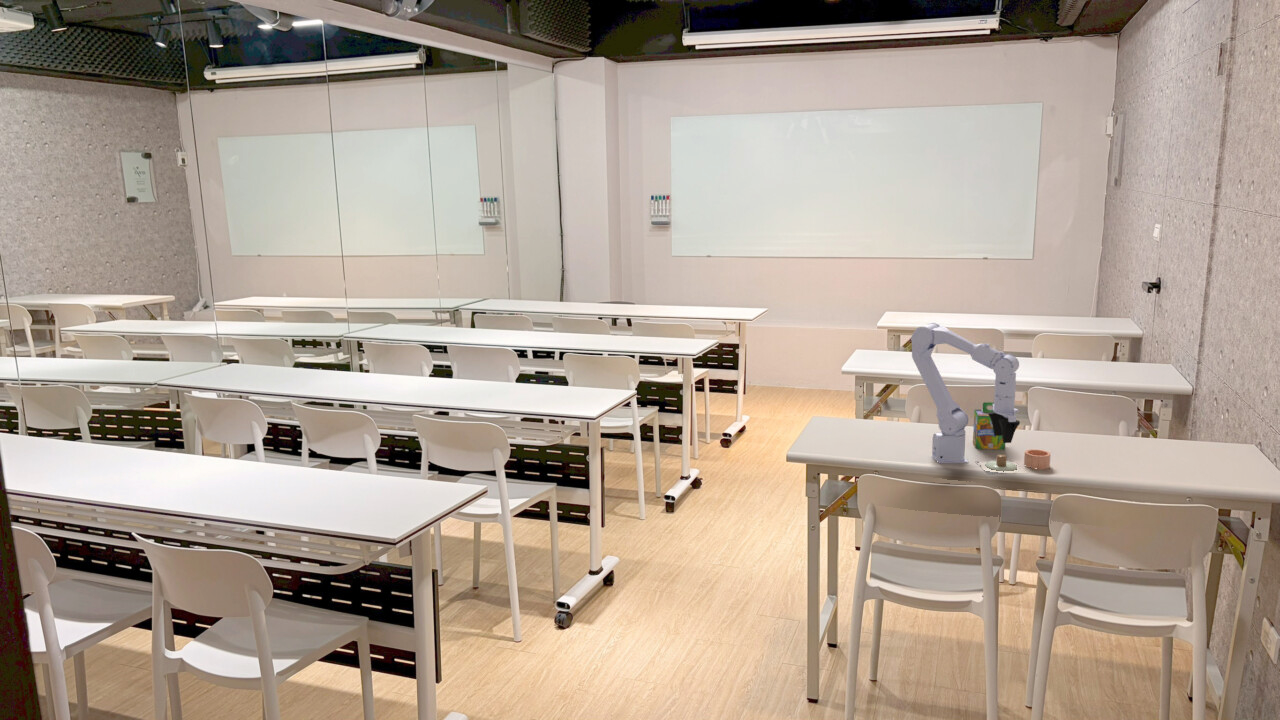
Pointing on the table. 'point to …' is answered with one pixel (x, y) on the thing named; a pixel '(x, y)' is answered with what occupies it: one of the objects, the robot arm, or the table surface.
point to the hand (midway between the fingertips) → (1002, 438)
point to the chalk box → (985, 430)
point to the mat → (991, 472)
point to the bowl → (1037, 459)
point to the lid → (1001, 464)
